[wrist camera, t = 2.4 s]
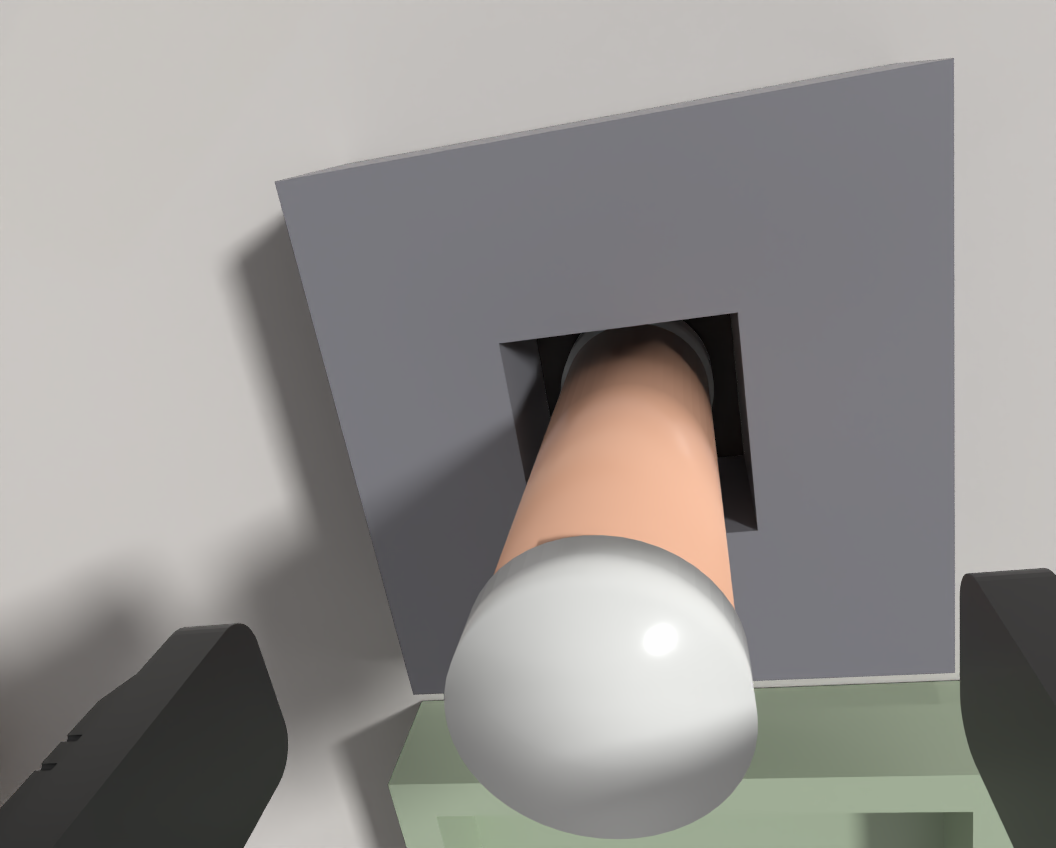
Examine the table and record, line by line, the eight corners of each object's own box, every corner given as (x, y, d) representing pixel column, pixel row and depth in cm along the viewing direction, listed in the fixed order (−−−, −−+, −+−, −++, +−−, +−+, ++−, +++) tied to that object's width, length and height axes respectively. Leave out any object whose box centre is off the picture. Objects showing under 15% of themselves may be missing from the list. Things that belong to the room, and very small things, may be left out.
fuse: (704, 296, 18) (743, 575, 8) (718, 436, 19) (770, 838, 9) (555, 317, 19) (414, 597, 8) (578, 450, 20) (476, 839, 10)
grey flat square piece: (896, 63, 16) (953, 57, 12) (908, 575, 19) (955, 672, 16) (346, 164, 18) (274, 181, 15) (452, 604, 22) (413, 694, 19)
